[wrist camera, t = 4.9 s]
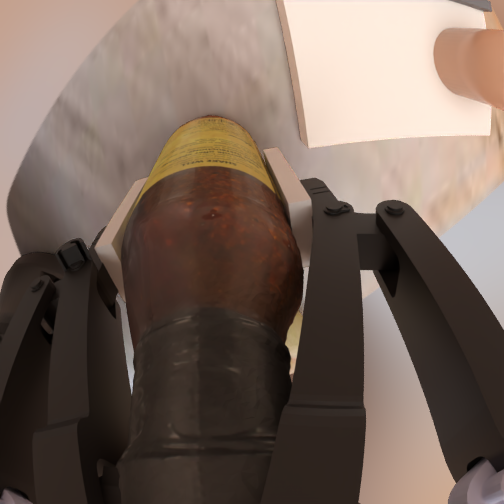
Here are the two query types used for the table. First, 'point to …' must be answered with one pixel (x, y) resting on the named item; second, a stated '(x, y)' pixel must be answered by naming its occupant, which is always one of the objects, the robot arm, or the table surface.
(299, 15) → the white rectangular box
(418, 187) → the table surface
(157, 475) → the sauce bottle
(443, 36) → the terracotta jar
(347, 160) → the table surface
